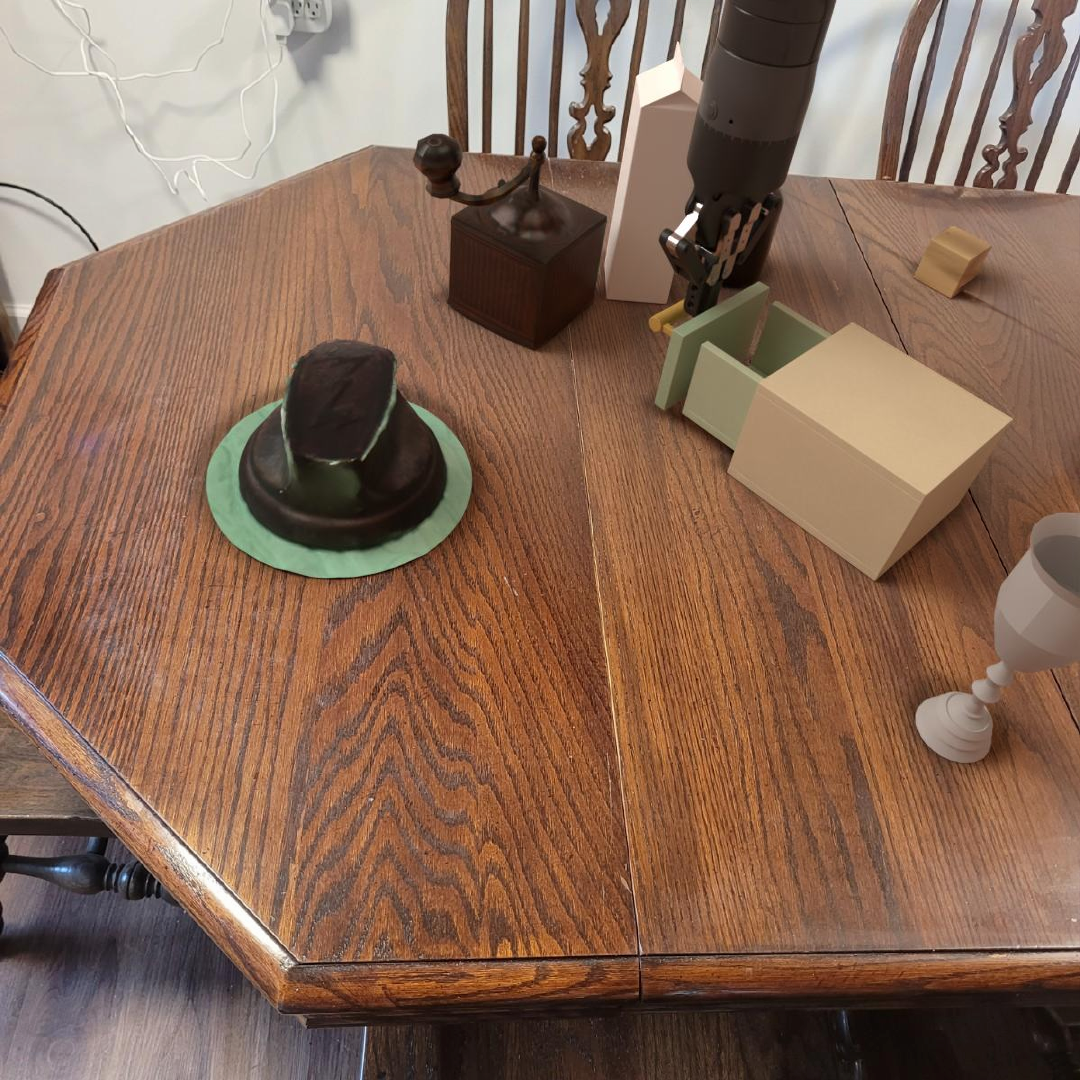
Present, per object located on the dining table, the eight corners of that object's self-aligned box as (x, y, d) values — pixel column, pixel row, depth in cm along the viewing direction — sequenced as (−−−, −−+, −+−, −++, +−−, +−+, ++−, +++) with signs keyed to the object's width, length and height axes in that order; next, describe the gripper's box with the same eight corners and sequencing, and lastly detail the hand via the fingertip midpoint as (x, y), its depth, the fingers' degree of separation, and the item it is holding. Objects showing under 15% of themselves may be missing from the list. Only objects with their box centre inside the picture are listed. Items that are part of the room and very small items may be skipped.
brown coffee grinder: (504, 257, 94) (518, 74, 81) (596, 302, 91) (627, 118, 77) (403, 328, 85) (401, 136, 72) (502, 381, 82) (518, 189, 68)
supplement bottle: (722, 244, 100) (753, 134, 91) (774, 274, 97) (810, 164, 88) (681, 265, 96) (709, 154, 87) (733, 297, 94) (767, 185, 85)
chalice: (893, 750, 62) (1028, 583, 48) (904, 670, 66) (1031, 495, 52) (1005, 792, 61) (1176, 633, 47) (1010, 708, 65) (1167, 539, 51)
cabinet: (726, 472, 77) (758, 382, 70) (814, 410, 84) (852, 321, 76) (874, 581, 71) (926, 495, 64) (957, 505, 77) (1013, 418, 70)
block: (935, 263, 102) (953, 225, 98) (972, 283, 100) (992, 245, 96) (912, 277, 99) (930, 239, 96) (950, 298, 97) (970, 260, 94)
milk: (606, 300, 91) (645, 67, 75) (603, 264, 95) (640, 35, 79) (667, 305, 92) (721, 74, 75) (663, 269, 96) (712, 42, 79)
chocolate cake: (498, 563, 67) (207, 604, 63) (458, 486, 84) (226, 514, 80) (483, 354, 62) (164, 384, 58) (443, 316, 79) (194, 337, 75)
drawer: (617, 377, 82) (633, 302, 77) (700, 329, 88) (720, 257, 82) (778, 494, 75) (809, 421, 69) (857, 433, 81) (891, 362, 75)
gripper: (733, 159, 62) (680, 366, 75) (846, 108, 68) (779, 307, 82) (650, 113, 65) (612, 319, 78) (765, 69, 72) (713, 266, 85)
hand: (697, 313), depth 80 cm, fingers closed
